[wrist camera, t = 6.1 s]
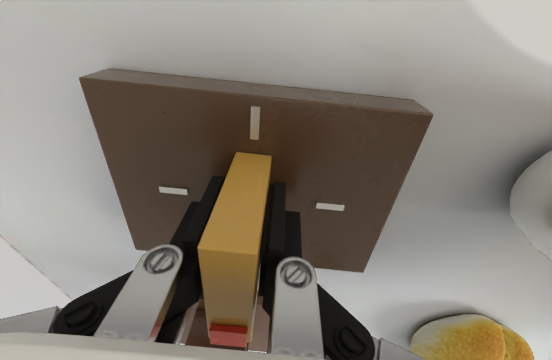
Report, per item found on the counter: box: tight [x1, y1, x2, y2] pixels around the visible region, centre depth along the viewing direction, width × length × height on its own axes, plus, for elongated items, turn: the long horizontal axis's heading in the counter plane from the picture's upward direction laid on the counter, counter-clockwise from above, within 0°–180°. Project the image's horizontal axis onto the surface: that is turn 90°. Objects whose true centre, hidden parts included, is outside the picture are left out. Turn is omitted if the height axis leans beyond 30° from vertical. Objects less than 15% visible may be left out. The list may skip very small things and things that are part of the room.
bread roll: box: [410, 314, 534, 360], centre depth 21 cm, size 8×9×4 cm
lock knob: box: [197, 152, 272, 347], centre depth 10 cm, size 5×2×6 cm, turn 175°
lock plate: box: [79, 69, 433, 272], centre depth 13 cm, size 14×10×2 cm
